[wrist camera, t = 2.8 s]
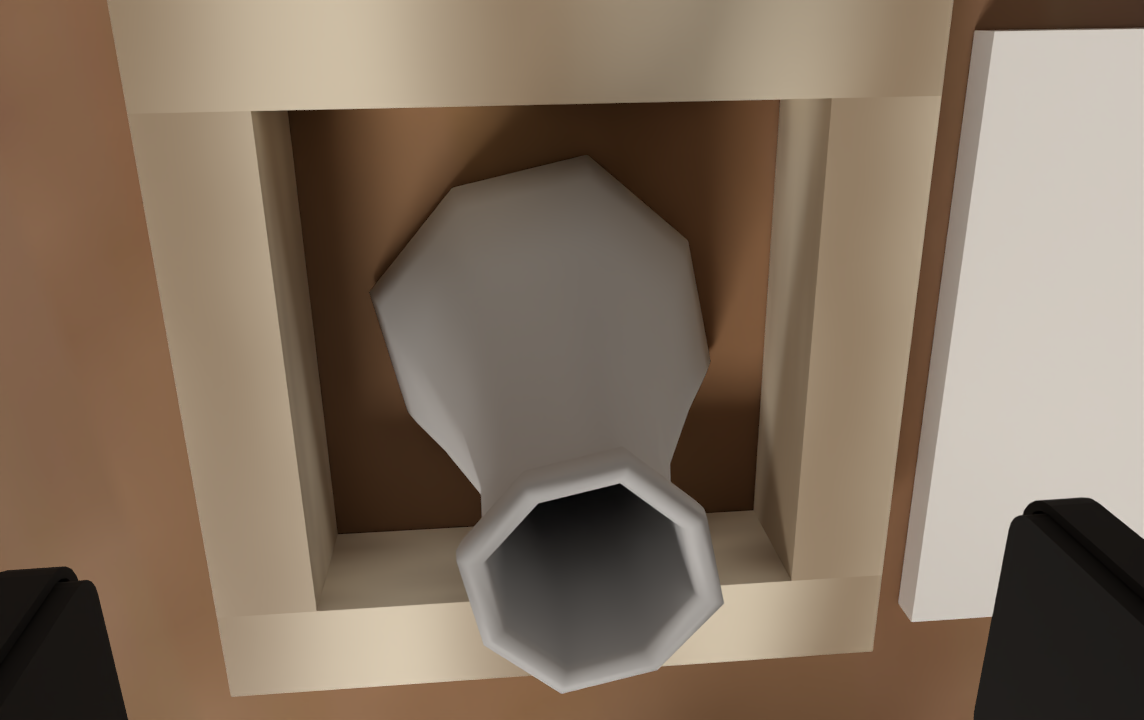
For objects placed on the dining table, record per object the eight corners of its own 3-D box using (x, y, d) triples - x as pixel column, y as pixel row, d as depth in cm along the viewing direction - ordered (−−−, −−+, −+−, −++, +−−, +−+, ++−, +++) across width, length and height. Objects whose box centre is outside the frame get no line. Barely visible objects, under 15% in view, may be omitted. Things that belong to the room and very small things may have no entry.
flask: (760, 367, 21) (971, 644, 12) (496, 521, 22) (504, 891, 13) (600, 90, 19) (714, 170, 10) (310, 276, 20) (155, 516, 10)
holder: (885, -22, 19) (956, -27, 16) (826, 574, 24) (872, 651, 21) (164, -13, 18) (104, -17, 15) (262, 611, 22) (230, 696, 20)
